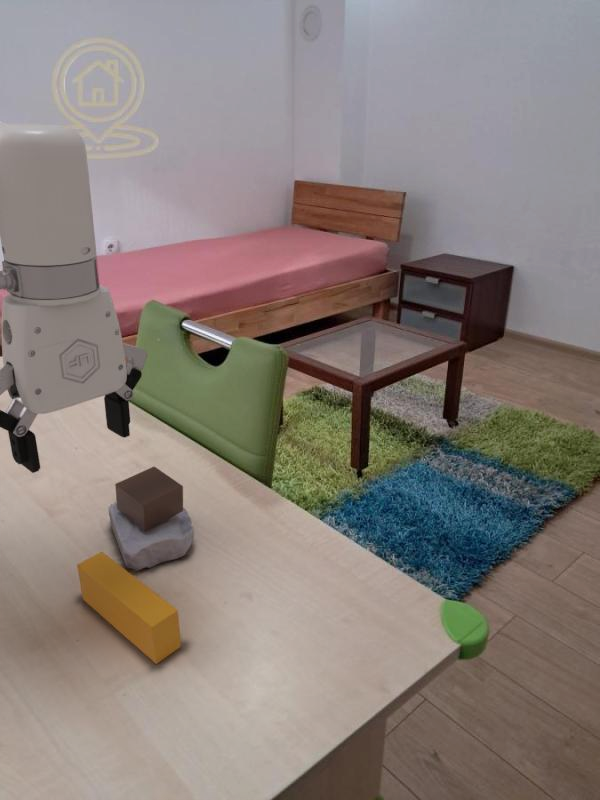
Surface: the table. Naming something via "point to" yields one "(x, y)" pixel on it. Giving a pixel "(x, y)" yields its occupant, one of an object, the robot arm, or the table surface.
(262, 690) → the table surface
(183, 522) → the stone block
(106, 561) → the bar
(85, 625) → the table surface
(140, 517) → the walnut block
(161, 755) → the table surface
